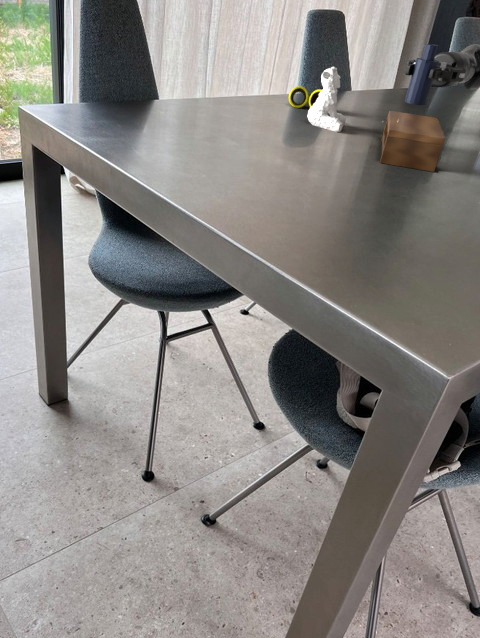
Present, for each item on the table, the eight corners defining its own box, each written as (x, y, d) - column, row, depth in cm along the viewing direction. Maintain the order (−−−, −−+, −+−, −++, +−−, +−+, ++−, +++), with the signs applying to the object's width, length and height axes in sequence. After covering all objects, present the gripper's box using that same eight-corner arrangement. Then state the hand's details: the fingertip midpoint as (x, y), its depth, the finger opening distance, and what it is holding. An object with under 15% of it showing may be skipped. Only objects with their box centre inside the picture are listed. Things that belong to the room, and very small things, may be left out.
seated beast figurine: (340, 133, 125) (354, 72, 118) (302, 126, 126) (314, 66, 119) (344, 125, 132) (358, 67, 125) (308, 119, 134) (319, 62, 127)
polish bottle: (425, 102, 135) (442, 45, 128) (426, 106, 131) (444, 47, 124) (404, 99, 135) (420, 42, 128) (404, 103, 131) (421, 44, 124)
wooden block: (428, 147, 122) (437, 118, 118) (433, 172, 106) (445, 138, 102) (381, 140, 123) (389, 110, 120) (379, 162, 107) (389, 129, 104)
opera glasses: (326, 113, 145) (331, 92, 143) (324, 112, 141) (329, 90, 139) (290, 107, 148) (294, 86, 146) (286, 106, 143) (291, 84, 141)
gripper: (471, 91, 137) (443, 96, 126) (416, 80, 144) (385, 84, 133) (483, 56, 132) (455, 58, 122) (426, 47, 140) (395, 48, 129)
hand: (419, 72), depth 128 cm, fingers closed on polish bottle, 5 cm apart
